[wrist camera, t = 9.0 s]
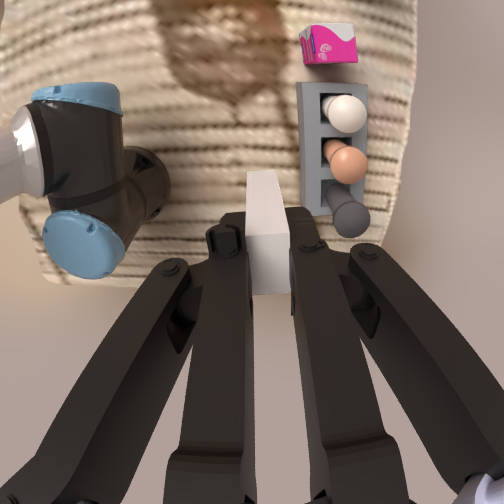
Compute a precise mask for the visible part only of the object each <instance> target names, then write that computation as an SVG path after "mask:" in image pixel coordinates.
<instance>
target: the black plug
mask: <svg viewBox="0 0 504 504" xmlns="http://www.w3.org/2000/svg"><path fill="white" fill-rule="evenodd" d="M325 200H326V202H327V203H328V205H329V207H330V209H331V211H332V213H333V224H334V227H335V229H336V231H337V232H338V233H339V234H340V235H341V236H343V237H345V238H355V237H358V236H360V235H361V234H363V233H364V232H365V231H366V230H367V228H368V227H369V224H370V214H369V212H368V210H367V209H366V208H365V206H364V205H363V204H362V203H360V202H357V201H355V199H354V198H353V196H352V195H351V194H350V192H349V191H348V189H347V188H346V187H345V186H344V185H343V184H340V183H334V184H331V185H330V186H328V188H327V189H326V191H325Z"/></svg>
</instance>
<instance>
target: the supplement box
mask: <svg viewBox="0 0 504 504" xmlns="http://www.w3.org/2000/svg"><path fill="white" fill-rule="evenodd" d="M299 36H300V40H301V46H302V52H303V61H304V64H336V63H357V62H358V55H357V47H356V40H355V33H354V27H353V24H349V23H320V24H311V25H309V26H308V27H307V28H306V29H304V30H303V31H302V32H301V33H299Z"/></svg>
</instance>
